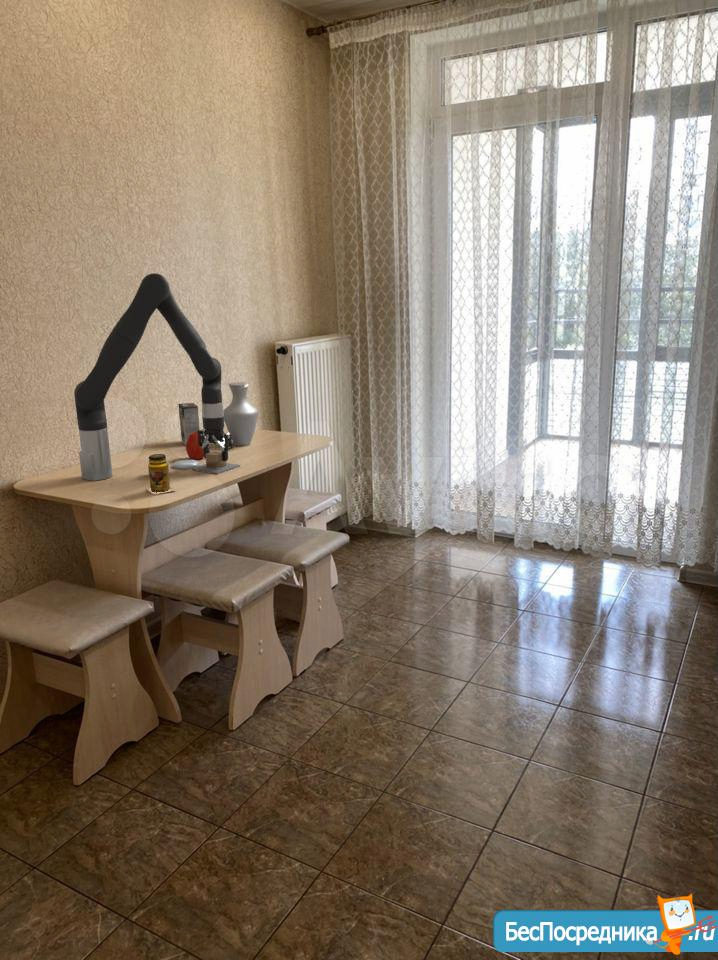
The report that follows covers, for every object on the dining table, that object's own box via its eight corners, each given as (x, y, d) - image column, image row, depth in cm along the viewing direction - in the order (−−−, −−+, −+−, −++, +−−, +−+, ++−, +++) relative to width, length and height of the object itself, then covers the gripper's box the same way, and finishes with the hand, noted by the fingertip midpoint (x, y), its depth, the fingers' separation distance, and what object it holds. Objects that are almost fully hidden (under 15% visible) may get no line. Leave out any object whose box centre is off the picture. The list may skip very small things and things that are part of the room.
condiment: (153, 495, 226) (150, 459, 223) (144, 489, 233) (141, 454, 229) (175, 491, 230) (172, 455, 226) (166, 485, 237) (163, 450, 233)
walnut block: (216, 469, 254) (215, 455, 252) (206, 467, 256) (205, 453, 255) (226, 465, 258) (225, 452, 256) (216, 464, 260) (215, 450, 259)
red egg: (203, 461, 266) (201, 433, 263) (182, 460, 268) (180, 433, 265) (212, 456, 274) (210, 429, 271) (192, 455, 276) (189, 428, 273)
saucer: (186, 470, 255) (186, 467, 255) (168, 467, 259) (168, 463, 259) (204, 464, 262) (203, 461, 262) (186, 461, 267) (185, 458, 266)
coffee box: (180, 441, 299) (177, 403, 295) (196, 440, 302) (193, 402, 297) (185, 446, 291) (182, 407, 287) (201, 444, 294) (198, 405, 289)
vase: (263, 440, 299) (261, 381, 293) (254, 448, 286) (251, 386, 279) (230, 439, 301) (227, 380, 294) (219, 447, 288) (215, 386, 281)
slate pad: (217, 474, 249) (217, 472, 249) (192, 469, 255) (192, 468, 255) (240, 466, 259) (240, 465, 259) (215, 462, 265) (215, 460, 265)
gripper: (190, 415, 252) (194, 459, 257) (220, 418, 245) (223, 464, 250) (205, 411, 258) (208, 455, 263) (235, 415, 251) (238, 459, 256)
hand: (216, 459), depth 256 cm, fingers open, 8 cm apart
